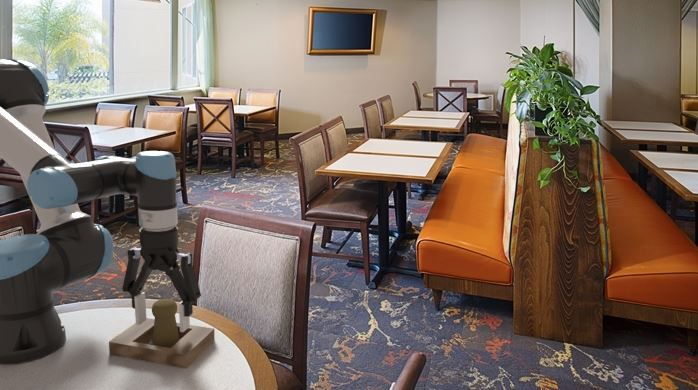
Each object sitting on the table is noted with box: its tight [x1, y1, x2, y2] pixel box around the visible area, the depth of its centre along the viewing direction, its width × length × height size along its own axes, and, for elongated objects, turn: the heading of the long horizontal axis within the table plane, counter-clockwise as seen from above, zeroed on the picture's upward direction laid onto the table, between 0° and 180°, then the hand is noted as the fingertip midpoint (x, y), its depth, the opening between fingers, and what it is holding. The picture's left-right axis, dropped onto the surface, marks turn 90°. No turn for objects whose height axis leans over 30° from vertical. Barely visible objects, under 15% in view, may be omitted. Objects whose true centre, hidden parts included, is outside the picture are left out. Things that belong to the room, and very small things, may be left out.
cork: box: [151, 298, 180, 348], centre depth 114 cm, size 6×6×11 cm
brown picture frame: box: [108, 317, 216, 369], centre depth 115 cm, size 18×12×3 cm, turn 77°
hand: (162, 325), depth 114 cm, fingers open, 10 cm apart
